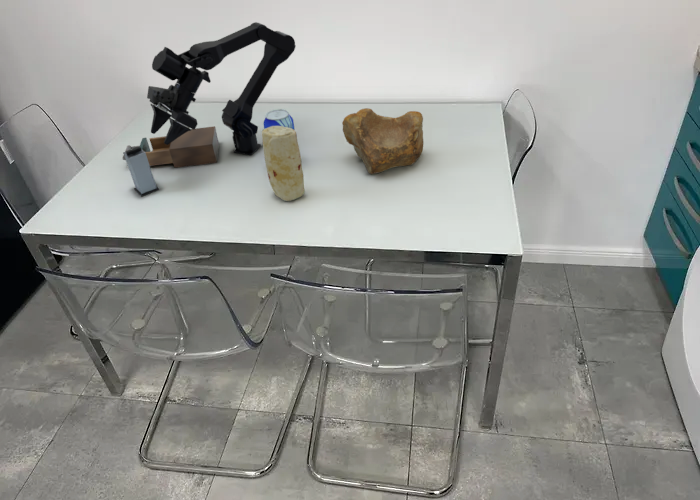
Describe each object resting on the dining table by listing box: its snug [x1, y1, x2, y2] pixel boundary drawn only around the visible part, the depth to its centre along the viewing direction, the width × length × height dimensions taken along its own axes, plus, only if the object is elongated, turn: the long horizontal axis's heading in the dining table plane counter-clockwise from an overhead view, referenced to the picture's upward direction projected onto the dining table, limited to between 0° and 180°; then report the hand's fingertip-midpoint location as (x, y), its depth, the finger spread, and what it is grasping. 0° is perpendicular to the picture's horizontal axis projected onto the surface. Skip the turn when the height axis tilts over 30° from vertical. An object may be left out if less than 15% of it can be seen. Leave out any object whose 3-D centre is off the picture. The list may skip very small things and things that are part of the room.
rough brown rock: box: [341, 107, 424, 175], centre depth 158 cm, size 23×17×15 cm
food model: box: [261, 126, 306, 202], centre depth 147 cm, size 10×7×20 cm
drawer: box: [122, 135, 173, 167], centre depth 172 cm, size 17×11×5 cm, turn 97°
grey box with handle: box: [122, 145, 160, 198], centre depth 157 cm, size 5×5×13 cm
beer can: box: [262, 108, 296, 131], centre depth 162 cm, size 8×8×16 cm
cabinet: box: [169, 126, 220, 169], centre depth 173 cm, size 13×12×6 cm
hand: (158, 138), depth 156 cm, fingers open, 9 cm apart
